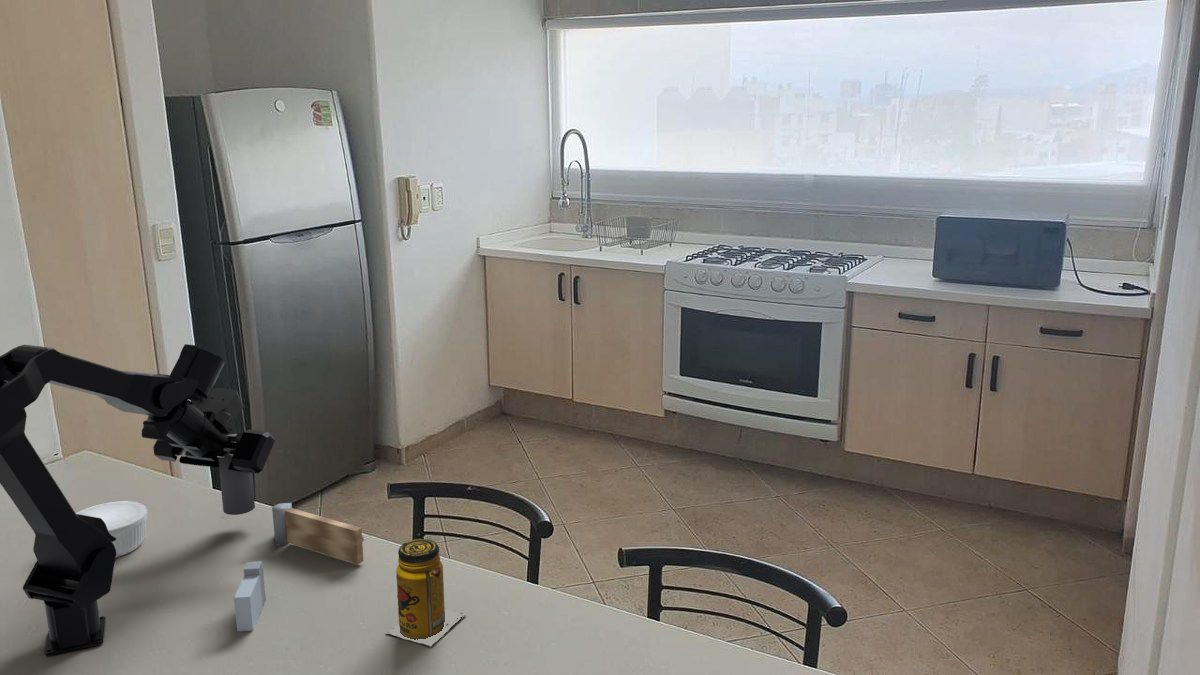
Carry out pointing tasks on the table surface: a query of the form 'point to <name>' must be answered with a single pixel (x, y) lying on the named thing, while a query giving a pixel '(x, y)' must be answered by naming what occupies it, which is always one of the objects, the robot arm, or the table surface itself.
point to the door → (324, 535)
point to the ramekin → (122, 523)
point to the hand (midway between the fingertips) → (241, 467)
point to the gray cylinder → (235, 488)
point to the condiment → (420, 589)
